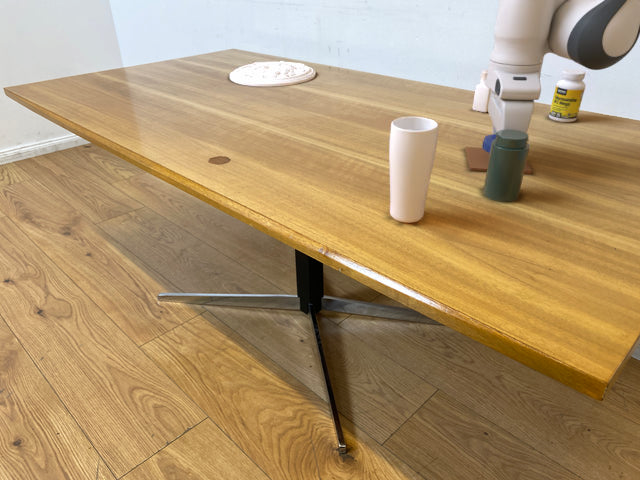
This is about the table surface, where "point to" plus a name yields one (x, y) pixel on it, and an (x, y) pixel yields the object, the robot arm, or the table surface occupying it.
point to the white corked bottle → (482, 94)
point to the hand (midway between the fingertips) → (499, 150)
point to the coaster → (483, 160)
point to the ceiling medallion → (272, 74)
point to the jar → (506, 165)
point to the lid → (488, 142)
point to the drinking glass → (411, 166)
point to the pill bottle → (568, 96)
